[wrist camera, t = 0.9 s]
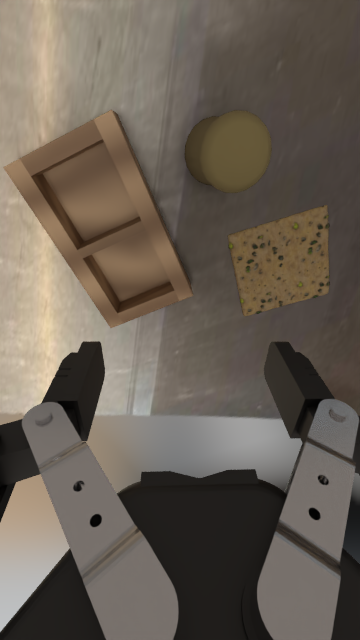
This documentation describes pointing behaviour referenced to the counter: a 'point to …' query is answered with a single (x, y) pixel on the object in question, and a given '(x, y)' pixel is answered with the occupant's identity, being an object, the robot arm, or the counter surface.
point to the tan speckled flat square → (282, 261)
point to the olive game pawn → (229, 151)
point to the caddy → (103, 219)
